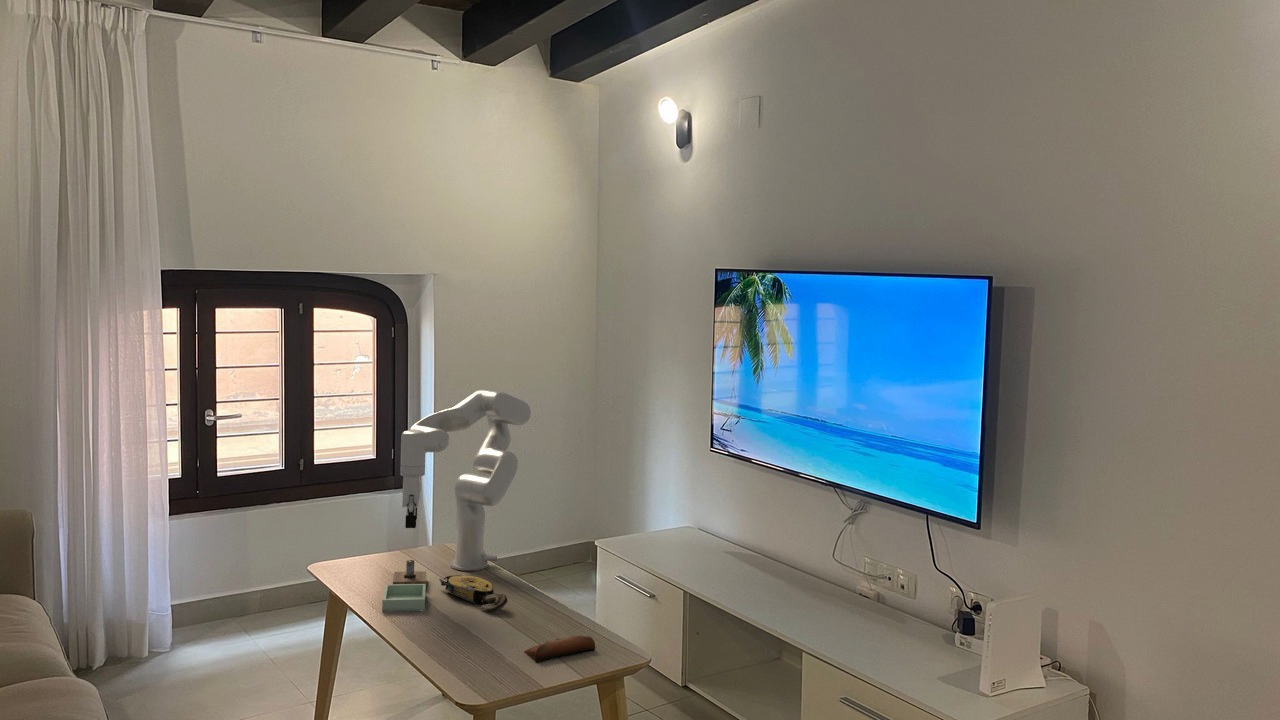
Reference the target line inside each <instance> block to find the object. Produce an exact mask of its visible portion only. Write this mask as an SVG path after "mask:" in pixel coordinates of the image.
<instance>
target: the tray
mask: <svg viewBox="0 0 1280 720" xmlns="http://www.w3.org/2000/svg"><path fill="white" fill-rule="evenodd" d="M426 590H427V583H426V584H393V583H391V584H385V586H384V589H383V596H382V604H381V606H382V607H381V611H382V612H383V613H385V612H387V613H388V612H389V613H390V611H398V612H419V611H418V610H423V611H422V612H425V607H426ZM382 612H381V613H382Z"/></svg>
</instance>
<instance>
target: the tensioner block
mask: <svg viewBox="0 0 1280 720" xmlns="http://www.w3.org/2000/svg"><path fill="white" fill-rule="evenodd" d="M392 584H426V585H427V570H425V571H423V570H422V571H418V570H416V571H414V578H406V571H394V574H393V579H392Z"/></svg>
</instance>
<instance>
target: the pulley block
mask: <svg viewBox="0 0 1280 720" xmlns="http://www.w3.org/2000/svg"><path fill="white" fill-rule="evenodd" d="M438 580H439V582H440V585H441V586H442V587H444V586H445V588H444V589H445V592H447V591H448V593H449V594H452V595H453V596H455V597H456V596H457V597H459V598H461V599H463V600H466V601H468V602H470V603H473V604H475V605H478V606H480V609H481V610H483V611H485V612H486V613H495V612H498V611H499V612H502V610H503V608H504V606H506V604H508V601H509V600H508V598H507V595H505V594H504V593H494V592H495V591H494V584H493V583H491V582H490V581H489V580H486V579H483V578H482V577H481V578H480V577H478V576H477V577H476V576H473V575H469V576H468V575H463V576H462V575H458V574H457V575H447V576H445V577H444V578H443V579H442V578H438Z"/></svg>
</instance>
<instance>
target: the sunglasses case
mask: <svg viewBox="0 0 1280 720" xmlns="http://www.w3.org/2000/svg"><path fill="white" fill-rule="evenodd" d="M590 650H592V651H595V650H596V642H595V640H594V638H593V637H591V636H587V635H573V636H566V637H562V638H555V639H551V640H548V641H547V640H546V641H545V642H544V643H541V644H538V645H535V646H532V647H529V648H527V649H525V650H524V651H523V653H524V654H526V655H527V656H528V657H529V658H530V659H531V660H533V661H534V662H535V663H537V662H542V661H546V660H548V659H552V658H556V657H559V656H564V655H570V654H573V653H580V652H584V651H590Z"/></svg>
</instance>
